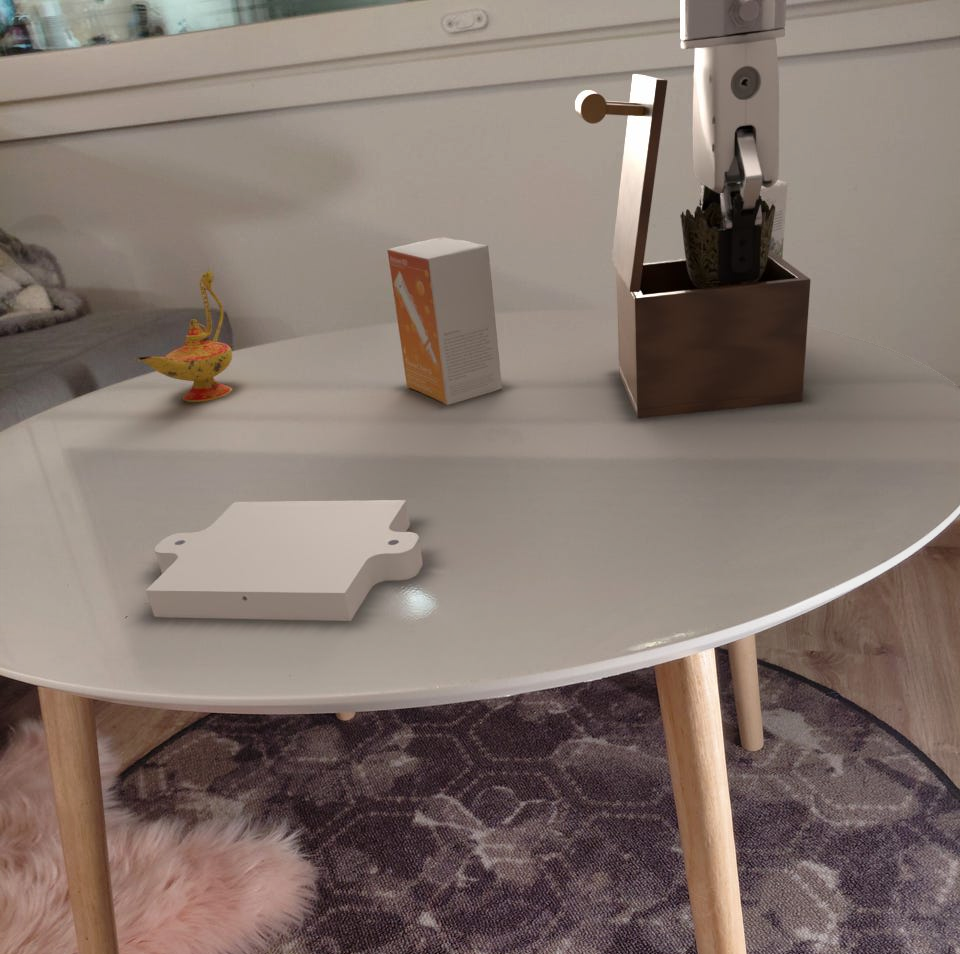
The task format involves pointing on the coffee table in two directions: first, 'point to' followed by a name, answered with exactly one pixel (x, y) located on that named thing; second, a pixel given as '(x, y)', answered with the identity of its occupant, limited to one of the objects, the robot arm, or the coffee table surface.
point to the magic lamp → (198, 356)
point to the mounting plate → (285, 560)
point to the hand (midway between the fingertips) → (727, 269)
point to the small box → (446, 318)
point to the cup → (716, 244)
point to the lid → (632, 167)
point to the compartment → (712, 340)
